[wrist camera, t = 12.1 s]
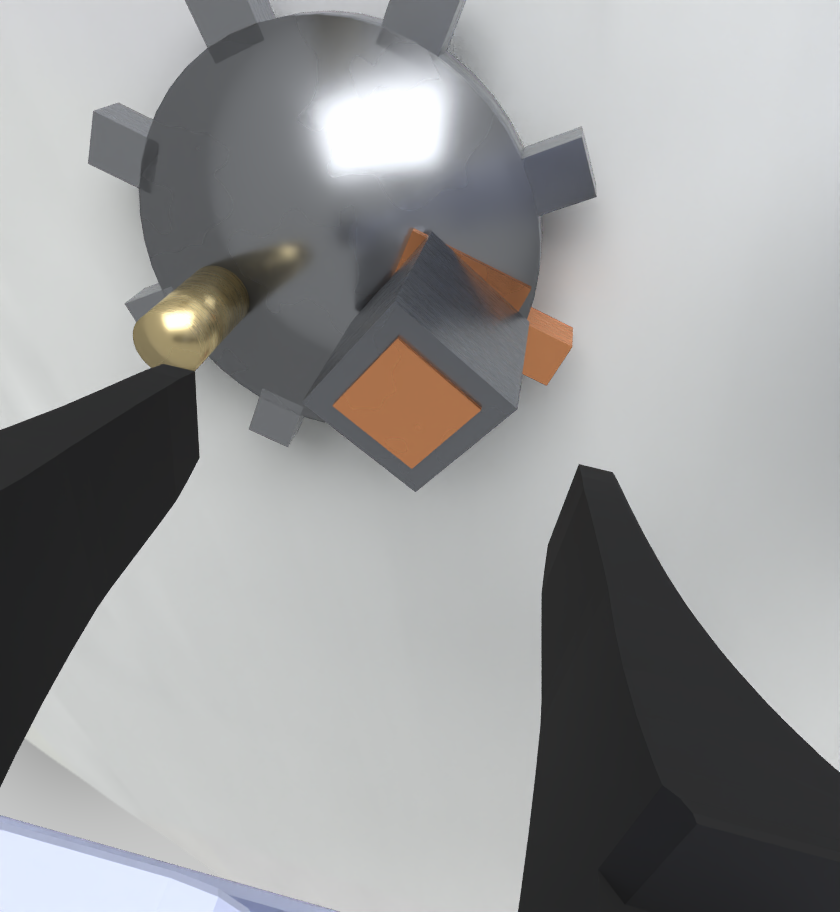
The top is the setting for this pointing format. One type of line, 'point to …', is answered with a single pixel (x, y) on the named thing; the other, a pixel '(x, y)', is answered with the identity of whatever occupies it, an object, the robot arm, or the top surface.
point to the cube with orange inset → (424, 366)
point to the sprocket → (325, 190)
